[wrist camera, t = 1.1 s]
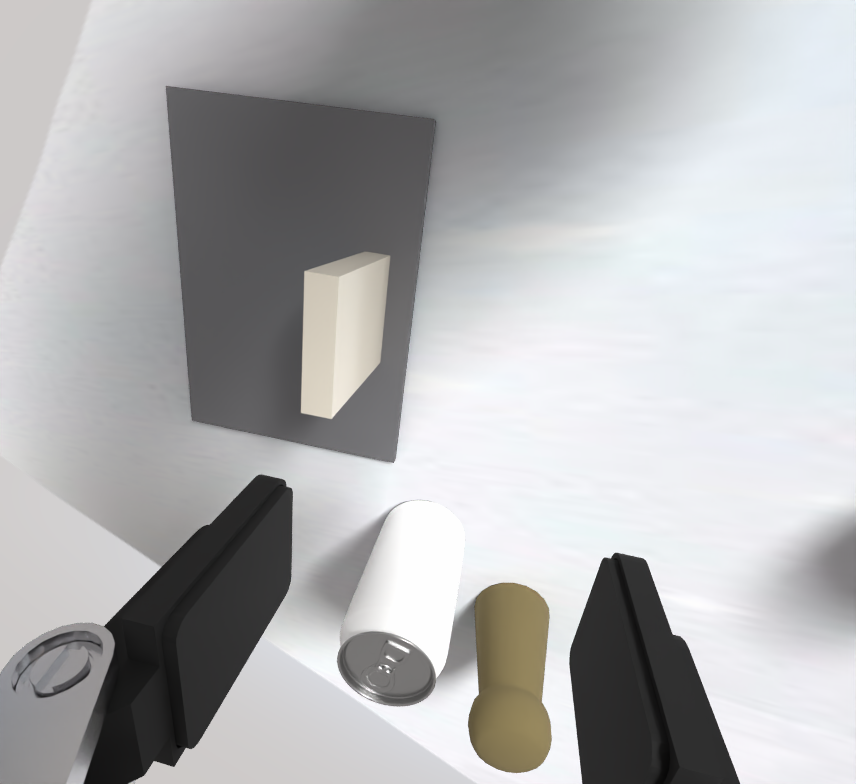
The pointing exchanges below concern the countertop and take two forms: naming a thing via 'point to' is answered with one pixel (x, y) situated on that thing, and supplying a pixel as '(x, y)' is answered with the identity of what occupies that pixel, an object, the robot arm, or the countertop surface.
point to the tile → (341, 329)
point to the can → (404, 606)
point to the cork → (510, 678)
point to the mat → (291, 253)
